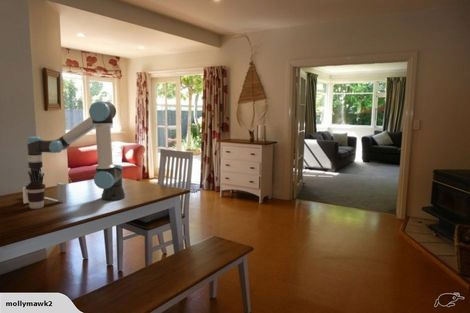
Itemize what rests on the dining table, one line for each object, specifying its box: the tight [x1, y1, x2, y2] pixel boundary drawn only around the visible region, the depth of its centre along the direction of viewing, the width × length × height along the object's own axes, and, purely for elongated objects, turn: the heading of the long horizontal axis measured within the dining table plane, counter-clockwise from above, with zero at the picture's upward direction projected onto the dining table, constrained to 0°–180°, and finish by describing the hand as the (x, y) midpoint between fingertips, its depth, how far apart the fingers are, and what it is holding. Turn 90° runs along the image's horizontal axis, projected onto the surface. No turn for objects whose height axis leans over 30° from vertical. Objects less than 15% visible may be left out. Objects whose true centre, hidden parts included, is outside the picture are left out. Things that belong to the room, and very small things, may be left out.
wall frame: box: [44, 182, 67, 204], centre depth 214 cm, size 2×30×12 cm, turn 64°
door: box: [22, 186, 29, 204], centre depth 210 cm, size 17×3×10 cm, turn 178°
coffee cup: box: [25, 182, 46, 210], centre depth 196 cm, size 10×10×15 cm
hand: (37, 197), depth 207 cm, fingers closed
